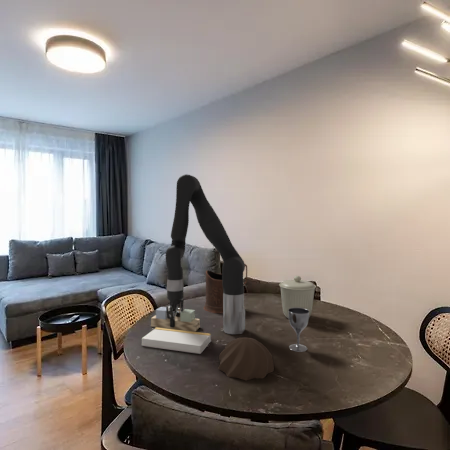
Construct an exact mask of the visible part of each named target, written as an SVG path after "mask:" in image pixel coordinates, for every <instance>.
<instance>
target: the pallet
mask: <svg viewBox="0 0 450 450" xmlns="http://www.w3.org/2000/svg"><path fill="white" fill-rule="evenodd" d="M200 320H201V318H196V317H195V319H194V320H193V321H192V322H184V321H181V317H177V316H176V315H175V327H170V319H157V318H156V314H155V315H153V316H152V317H151V318H150V327H153V328H156V327H158V328H166V329H175V330H183V331H192V332H197V331H198V330H199V328H201V321H200Z"/></svg>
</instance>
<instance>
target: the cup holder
mask: <svg viewBox="0 0 450 450" xmlns="http://www.w3.org/2000/svg"><path fill="white" fill-rule="evenodd" d="M247 283H248V265H247V264H246V263H245V281H244V282H243V286H244V287H245V285H246V284H247ZM203 310H204V311H206V312H209V313H212V314H223V285H222V273H216V272H213V271H212V270H205V302H204V305H203Z"/></svg>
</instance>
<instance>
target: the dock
mask: <svg viewBox="0 0 450 450" xmlns="http://www.w3.org/2000/svg"><path fill="white" fill-rule="evenodd" d="M211 341H212V334H211V333H208V332H207V333H206V332H199V331H196V332H194V331H186V330H177V329H169V328H160V327H154V328H153V329H152V330H151V331H150V332H148V333H147V334H146V335H144V336H143V337H142V338H141V346H142V347H147V348H155V349H164V350H171V351H177V352H178V351H179V352H185V353H192V354H199V355H200V354H202V353H203V351H204V350H205V349H206V348H207V346H208V345H209V344H210V343H211Z"/></svg>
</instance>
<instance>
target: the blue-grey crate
mask: <svg viewBox="0 0 450 450" xmlns="http://www.w3.org/2000/svg"><path fill="white" fill-rule="evenodd" d="M166 307H167V306H160V307H158V308H156V309H155V315H156V318H157V319H167V310H166ZM169 315H170V314H169Z"/></svg>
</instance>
